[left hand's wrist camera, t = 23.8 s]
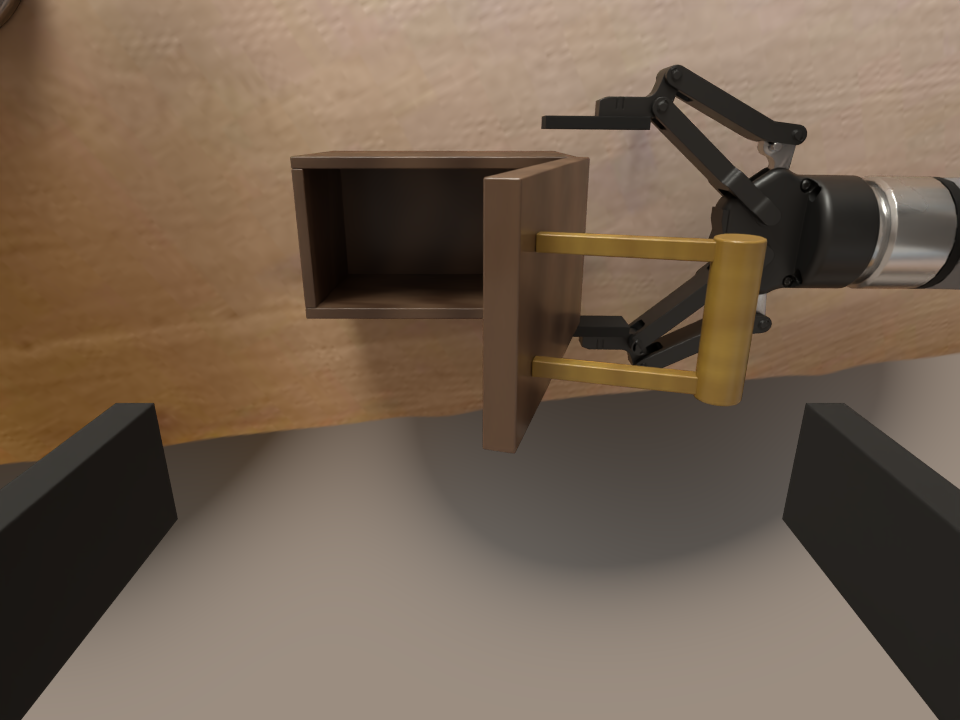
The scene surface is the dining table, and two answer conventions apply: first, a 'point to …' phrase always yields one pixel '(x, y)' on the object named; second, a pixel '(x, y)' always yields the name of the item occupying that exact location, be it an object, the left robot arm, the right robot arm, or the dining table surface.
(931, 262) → the right robot arm
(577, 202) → the lid
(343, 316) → the chest
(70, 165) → the dining table surface
